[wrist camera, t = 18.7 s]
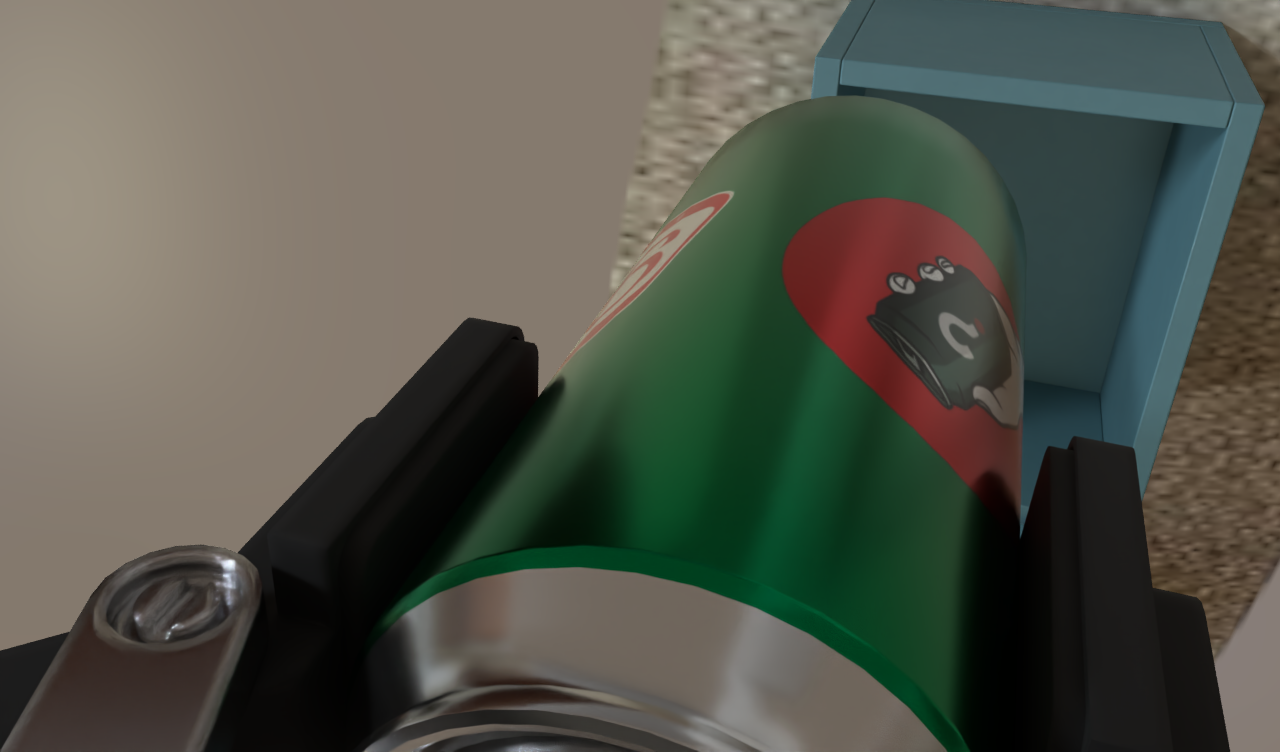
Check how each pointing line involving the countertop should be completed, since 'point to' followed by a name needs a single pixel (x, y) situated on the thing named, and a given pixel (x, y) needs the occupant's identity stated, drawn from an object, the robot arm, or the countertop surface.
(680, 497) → the soda can
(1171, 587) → the countertop surface
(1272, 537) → the countertop surface
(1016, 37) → the teal box
